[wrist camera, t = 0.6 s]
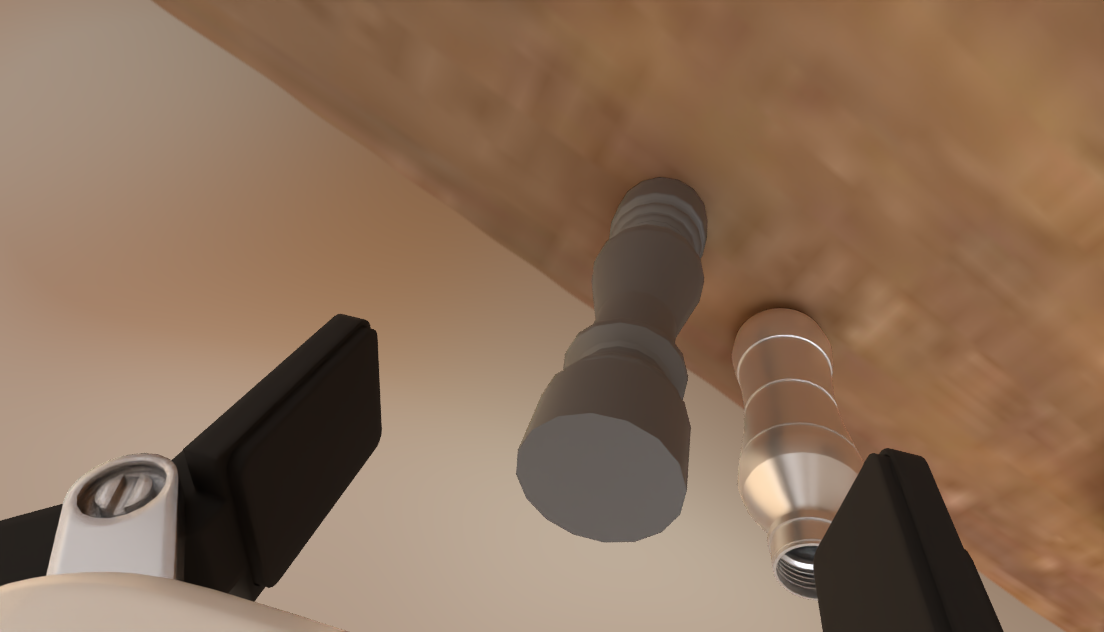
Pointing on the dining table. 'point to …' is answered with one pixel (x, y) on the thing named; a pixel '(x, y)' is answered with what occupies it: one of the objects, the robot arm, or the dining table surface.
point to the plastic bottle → (791, 440)
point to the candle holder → (624, 379)
